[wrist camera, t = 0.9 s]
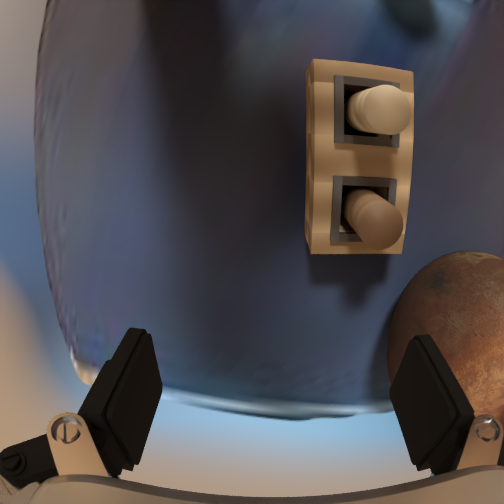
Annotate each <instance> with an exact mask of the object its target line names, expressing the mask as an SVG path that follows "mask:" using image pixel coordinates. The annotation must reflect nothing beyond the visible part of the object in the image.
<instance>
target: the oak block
mask: <svg viewBox="0 0 504 504" xmlns="http://www.w3.org/2000/svg"><path fill="white" fill-rule="evenodd" d="M380 85H391V86H394V87H396V88H398V89H400V90H401V91H402V92H403V93H404V94H405V95H406V97H407V98H408V100H409V102H410V105H411V112H412V113H411V120H410V123H409V125H408V126H407V127H406V129H405V130H403V131H402V132H400V133H398V134H394V135H387V134H379V133H371V137H370V136H357V135H344V91H345V92H355V93H357V92H360V91H363V90H367V89H370V88H373V87H376V86H380ZM413 132H414V84H413V72H411V71H406V70H400V69H395V68H389V67H383V66H376V65H369V64H362V63H354V62H344V61H334V60H321V59H313V60H312V62H311V63H310V64H309V66H308V67H307V69H306V200H305V231H304V234H305V237H306V240H307V243H308V246H309V249H310V252H311V254H402V248H403V241H404V235H405V228H406V220H407V212H408V203H409V194H410V183H411V171H412V155H413ZM342 185H354V186H369V189H370V190H372V191H373V192H374V193H376V194H377V195H379V196H380V197H382V198H383V199H385V200H386V201H387V202H389V203H390V204H392V205H393V206H394V207H396V208H397V209H398V210H399V211H400V213H401V215H402V217H403V224H404V225H403V231H402V234H401V236H400V238H399V239H398V241H397V242H396V243H395V244H394V245H392V246H391V247H389V248H387V249H383V250H375V249H372V248H370V247H368V246H367V245H366V244H365V243H364V242H363V241H362V240H361V238H360V237H359V236H358V234H357V233H356V232H355V230H354V229H353V228H352V227H351V225H350V224H349V223H348V221H347V220H346V219H345V218H344V216H341V201H342Z"/></svg>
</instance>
